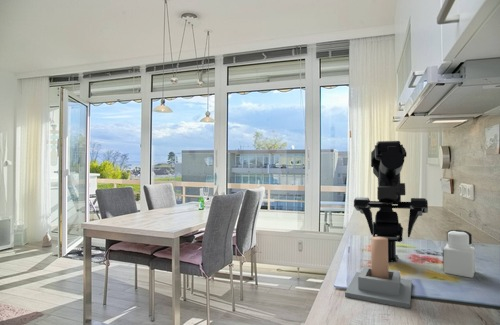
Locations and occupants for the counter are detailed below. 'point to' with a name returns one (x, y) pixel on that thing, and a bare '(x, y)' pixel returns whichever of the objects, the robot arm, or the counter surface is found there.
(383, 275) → the dowel
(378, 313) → the counter surface
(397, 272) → the socket
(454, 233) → the medicine bottle
